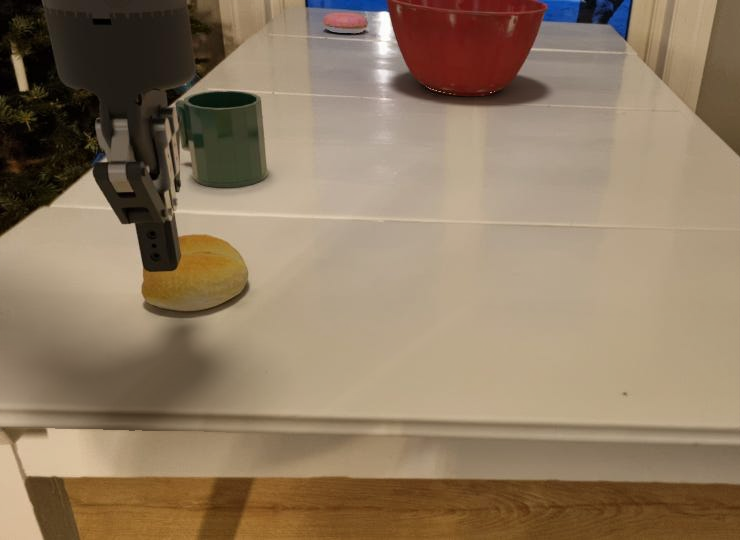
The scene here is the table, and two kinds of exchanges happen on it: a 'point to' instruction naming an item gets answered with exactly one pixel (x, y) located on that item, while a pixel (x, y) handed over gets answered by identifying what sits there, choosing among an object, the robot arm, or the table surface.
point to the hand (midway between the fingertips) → (163, 266)
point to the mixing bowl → (465, 41)
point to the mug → (224, 137)
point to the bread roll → (198, 276)
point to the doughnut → (345, 20)
